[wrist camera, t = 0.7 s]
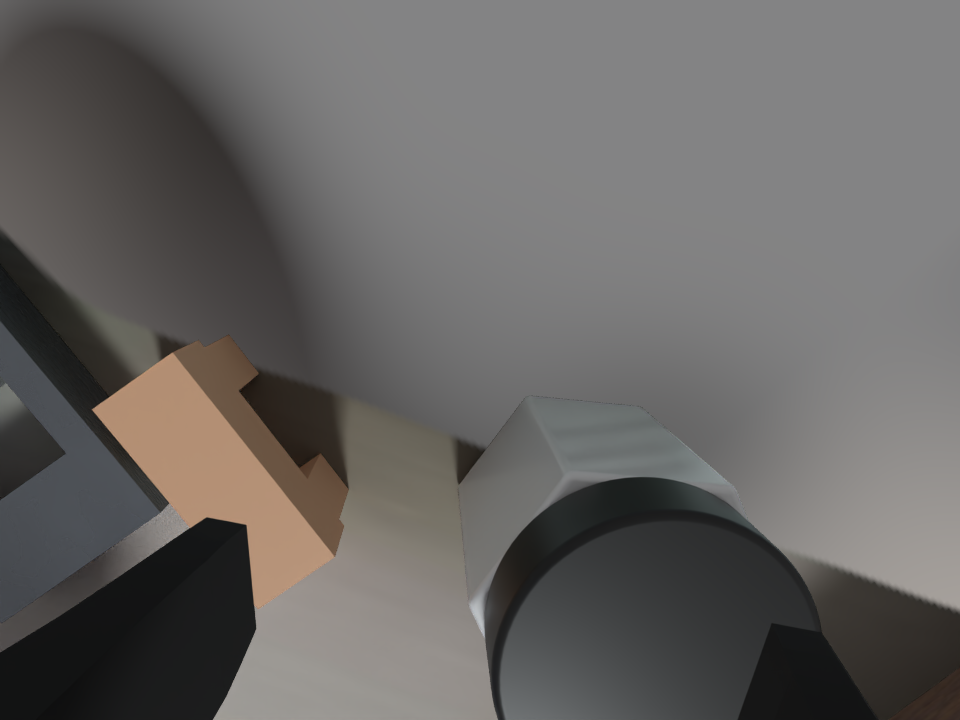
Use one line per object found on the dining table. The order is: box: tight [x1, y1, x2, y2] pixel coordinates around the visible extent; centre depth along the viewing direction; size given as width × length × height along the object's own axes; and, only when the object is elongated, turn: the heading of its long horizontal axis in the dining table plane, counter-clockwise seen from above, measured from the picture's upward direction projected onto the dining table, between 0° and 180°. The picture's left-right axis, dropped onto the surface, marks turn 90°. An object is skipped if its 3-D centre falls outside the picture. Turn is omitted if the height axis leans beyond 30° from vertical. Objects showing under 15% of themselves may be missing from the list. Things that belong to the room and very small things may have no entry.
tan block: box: [92, 335, 349, 609], centre depth 26 cm, size 8×3×6 cm, turn 35°
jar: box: [458, 396, 822, 720], centre depth 24 cm, size 9×8×12 cm
